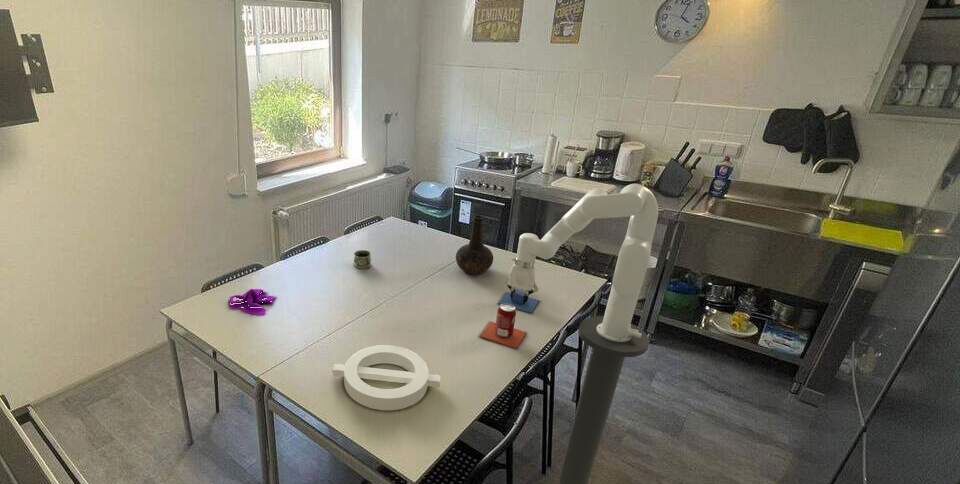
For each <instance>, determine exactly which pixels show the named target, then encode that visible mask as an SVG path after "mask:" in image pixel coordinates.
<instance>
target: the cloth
mask: <svg viewBox="0 0 960 484" xmlns="http://www.w3.org/2000/svg"><path fill="white" fill-rule="evenodd" d="M263 291H264V290H263V289H261V288H250V289H249V290H248V291H247V292H244V293H243V294H236V295H230V296H229V297H228V302H229V301H230V303H231V304H233V303H241V302H244V303H241V304H234V305H230V304H229V303H228V306H229V308H230V309H231V310H241V311H242V312H243V313H245V314H248V315H256V316H265V314H266V312H267V309H266V308H264V307H263V306H272V304H273V302H274V300H276V296H274V295H268V294H267V292H266V291H264V292H263ZM261 292H262V293H261ZM260 293H261V294H260ZM234 297H236V298H239V299H243V300H241V301H239V300H236V301H233V298H234ZM274 297H275V298H274ZM229 298H230V300H229ZM264 298H267V299H265V300H262V299H264ZM273 299H274V300H273ZM245 301H247V302H245ZM270 301H272V302H270ZM262 302H263V303H262ZM248 305H249V306H248ZM241 307H244V308H241ZM250 307H262V308H250Z"/></svg>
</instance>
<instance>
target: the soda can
mask: <svg viewBox="0 0 960 484" xmlns="http://www.w3.org/2000/svg"><path fill="white" fill-rule="evenodd" d="M516 310H517V309H515V307H514V306H513V305H511V304H507V303H504V304H501V305H499V307H498V308H497V311H496V312H497V313H496V320H495V323H496V326H495V333H496V334H497V335H498V336H500V337H510V336H512V335H513V330H514V329H515V322H516V317H517V311H516Z"/></svg>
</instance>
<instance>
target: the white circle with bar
mask: <svg viewBox="0 0 960 484" xmlns="http://www.w3.org/2000/svg"><path fill="white" fill-rule="evenodd" d="M378 364H389V365H395V366H399V367H402V368H403V369H405V370H406V371H405V370H398V369H397V370H396V369H388V368H380V367H379V368H377V367H371V366H374V365H378ZM332 376H333V377H341V378H343V384H344V389H345V391H346V393H347V394H348V396H349V397H350V398H351V399H352V400H354V401H355V402H357V403H358V404H360V405H362V406H364V407H366V408H369V409H373V410H377V411H398V410H403V409H406V408H409V407H411V406H413V405H415V404H417V403H418V402H419V401H421V399H423V398H424V397H425V395H426V393H427V390H428V388H429V387H431V388H433V387H434V388H441V374H433V373H429V367H428V365H427V363H426V361H425V360H424V359H423V358H422V357H421V356H420V355H419V354H417V353H416V352H414V351H412V350H410V349H407V348H405V347H402V346H397V345H390V344H379V345H371V346H366V347H365V348H362V349H359V350H357V351H356V352H354V353H353V354H352V355H350V357H348V359H347V360H346V362H345V363H344V364H343V363H334V364H333V367H332ZM362 379H364V380H373V381H374V380H375V381H383V382H391V383H401V384H405V385H403V386H400V387H396V388H380V387H375V386H372V385H369V384H368V383H366V382H364V381H363V380H362Z"/></svg>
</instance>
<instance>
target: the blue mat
mask: <svg viewBox="0 0 960 484" xmlns="http://www.w3.org/2000/svg"><path fill="white" fill-rule="evenodd" d="M510 295H511V291H510V292H509V291H506V292H505V294H503V296H502V298H501V299H500V301H499V302H498V305H499V306H500V305H501V304H504V303H507V304H511V305H513V306H514V307H515V310H517V311H520V312H525V313H528V314H532V313H533V312H534V310H535V308H536V307H537V305H538V303H539V302H540V299H537V298H533V297H530V296H529V297H528V301H527V302H525V304H523V305H520V304H516V303H513V302H512V300H511V297H510Z"/></svg>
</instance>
